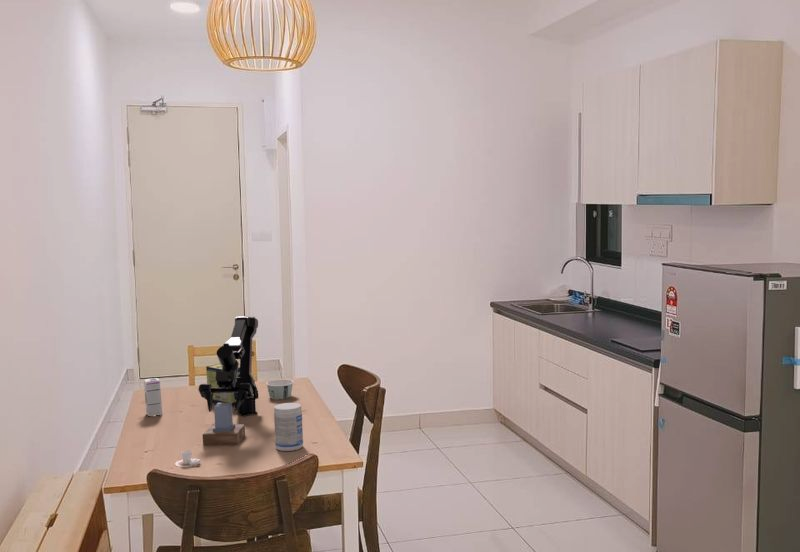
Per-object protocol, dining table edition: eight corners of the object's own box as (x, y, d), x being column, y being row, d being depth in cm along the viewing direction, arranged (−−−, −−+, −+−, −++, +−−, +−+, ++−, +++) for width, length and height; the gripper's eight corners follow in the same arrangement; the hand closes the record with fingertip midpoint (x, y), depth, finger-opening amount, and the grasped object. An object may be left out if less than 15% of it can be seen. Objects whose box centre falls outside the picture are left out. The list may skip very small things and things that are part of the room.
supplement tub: (304, 450, 257) (303, 408, 256) (276, 453, 255) (274, 410, 253) (301, 442, 266) (300, 401, 265) (274, 444, 264) (272, 403, 263)
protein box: (225, 396, 333) (224, 361, 332) (250, 401, 324) (248, 365, 323) (207, 401, 325) (205, 366, 323) (231, 406, 316) (230, 370, 314)
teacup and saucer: (204, 465, 245) (203, 453, 245) (179, 470, 241) (179, 458, 241) (195, 458, 253) (195, 446, 252) (171, 463, 248) (171, 451, 248)
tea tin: (217, 426, 274) (216, 402, 273) (235, 426, 273) (234, 402, 272) (212, 431, 267) (211, 407, 266) (230, 431, 267) (229, 406, 266)
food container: (299, 396, 331) (299, 381, 330) (278, 402, 322) (277, 387, 321) (282, 392, 339) (281, 377, 338) (260, 397, 330) (260, 383, 329)
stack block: (212, 435, 277) (212, 424, 276) (245, 434, 276) (244, 424, 276) (203, 445, 265) (202, 434, 265) (236, 445, 264) (236, 434, 264)
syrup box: (162, 415, 305) (160, 380, 303) (147, 417, 302) (145, 381, 301) (160, 411, 310) (158, 377, 309) (145, 413, 307) (143, 378, 306)
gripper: (198, 362, 272) (190, 399, 262) (249, 361, 272) (243, 399, 262) (206, 378, 281) (198, 415, 271) (255, 377, 280) (249, 415, 270)
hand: (222, 411), depth 268 cm, fingers open, 9 cm apart
